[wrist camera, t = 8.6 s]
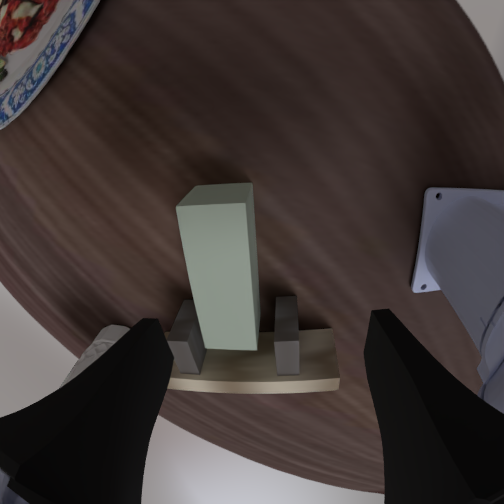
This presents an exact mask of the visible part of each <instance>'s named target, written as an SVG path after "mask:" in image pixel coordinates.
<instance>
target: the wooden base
mask: <svg viewBox="0 0 504 504" xmlns="http://www.w3.org/2000/svg"><path fill="white" fill-rule="evenodd" d="M164 335H165V337H166V340H167V342H168V344H169V347H170V349H171V351H172V353H173V356H174V362H173V367H172V372H171V377H170V381H169V384H168V387H167V388H169V389H178V390H189V391H201V392H218V393H248V394H272V393H302V392H318V391H331V390H338V386H339V381H340V374H339V367H338V361H337V355H336V348H335V342H334V337H333V331H332V328H330V329H317V330H300V331H299V328H298V309H297V296H283V297H276V308H275V332H259V336H258V345H257V350H227V349H208V348H205V344H204V341H203V337H202V332H201V328H200V324H199V320H198V316H197V311H196V307H195V303H194V300H184V301H183V303H182V306H181V308H180V310H179V312H178V314H177V317H176V319H175V321H174V324H173V326H172V328H171V330H170V332H165V333H164Z"/></svg>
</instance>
